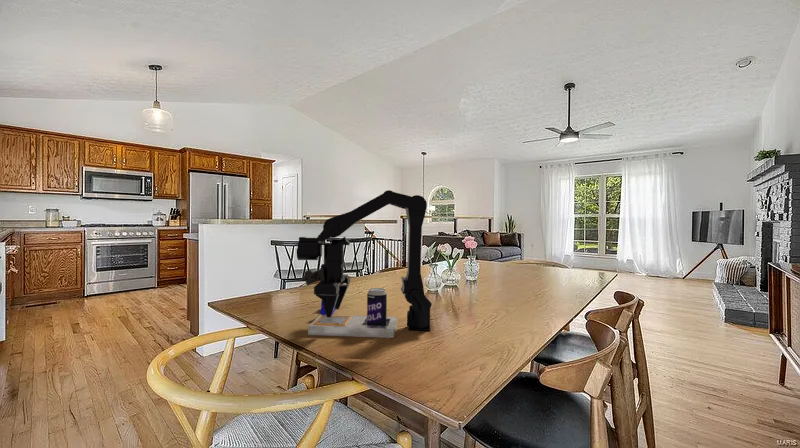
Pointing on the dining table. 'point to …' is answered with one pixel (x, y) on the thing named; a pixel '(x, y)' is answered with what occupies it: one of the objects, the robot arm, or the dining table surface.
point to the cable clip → (324, 309)
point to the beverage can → (376, 307)
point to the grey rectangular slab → (351, 326)
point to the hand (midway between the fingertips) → (333, 313)
